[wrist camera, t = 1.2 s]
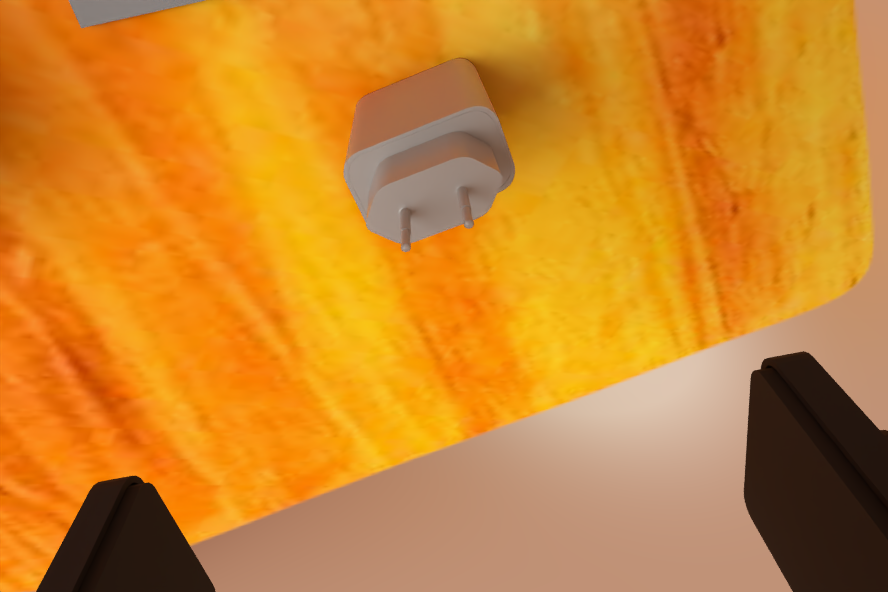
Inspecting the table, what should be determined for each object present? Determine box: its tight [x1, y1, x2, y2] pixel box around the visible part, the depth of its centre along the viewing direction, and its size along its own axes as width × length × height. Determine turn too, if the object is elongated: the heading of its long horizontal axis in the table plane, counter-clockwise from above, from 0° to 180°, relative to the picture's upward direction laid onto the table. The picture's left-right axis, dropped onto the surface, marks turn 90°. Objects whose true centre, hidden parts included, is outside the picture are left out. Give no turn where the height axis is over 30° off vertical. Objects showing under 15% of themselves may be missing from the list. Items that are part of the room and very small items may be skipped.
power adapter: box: [344, 58, 515, 252], centre depth 23 cm, size 3×5×12 cm, turn 111°
